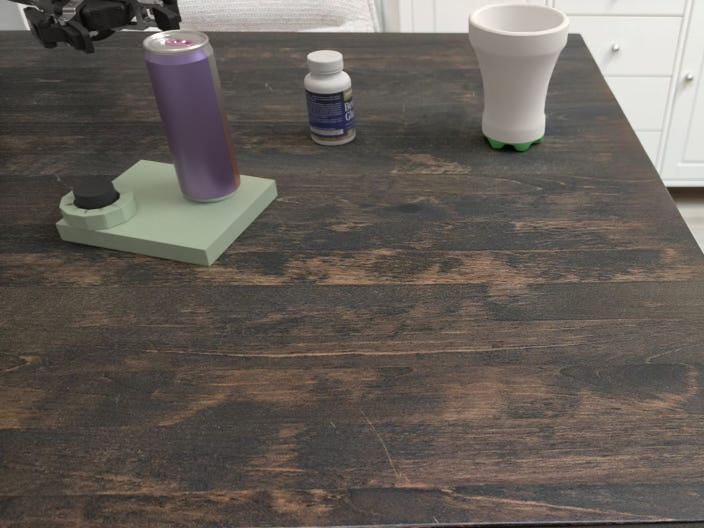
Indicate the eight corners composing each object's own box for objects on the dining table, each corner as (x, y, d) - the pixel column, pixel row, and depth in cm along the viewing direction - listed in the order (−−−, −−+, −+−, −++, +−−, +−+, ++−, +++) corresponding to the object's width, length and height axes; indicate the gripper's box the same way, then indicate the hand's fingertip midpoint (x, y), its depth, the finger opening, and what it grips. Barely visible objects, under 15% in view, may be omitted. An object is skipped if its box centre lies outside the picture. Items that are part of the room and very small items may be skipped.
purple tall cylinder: (221, 209, 74) (184, 55, 64) (169, 198, 75) (125, 46, 65) (253, 182, 78) (223, 33, 68) (204, 172, 79) (167, 25, 69)
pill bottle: (357, 145, 89) (349, 63, 82) (311, 148, 88) (299, 65, 82) (355, 126, 93) (347, 46, 86) (311, 129, 92) (300, 48, 86)
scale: (58, 241, 72) (44, 209, 70) (144, 174, 83) (134, 145, 80) (208, 268, 69) (199, 236, 67) (277, 196, 80) (272, 165, 77)
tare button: (69, 208, 71) (63, 193, 70) (93, 190, 74) (88, 175, 72) (102, 213, 70) (97, 198, 69) (125, 195, 73) (120, 181, 72)
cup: (477, 115, 96) (479, -2, 87) (563, 124, 94) (574, 6, 85) (458, 154, 88) (458, 29, 78) (551, 164, 86) (562, 38, 77)
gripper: (-10, -31, 77) (43, 6, 68) (127, -51, 84) (191, -19, 75) (19, 44, 82) (71, 88, 73) (145, 19, 89) (207, 57, 80)
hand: (132, 34), depth 74 cm, fingers open, 8 cm apart
